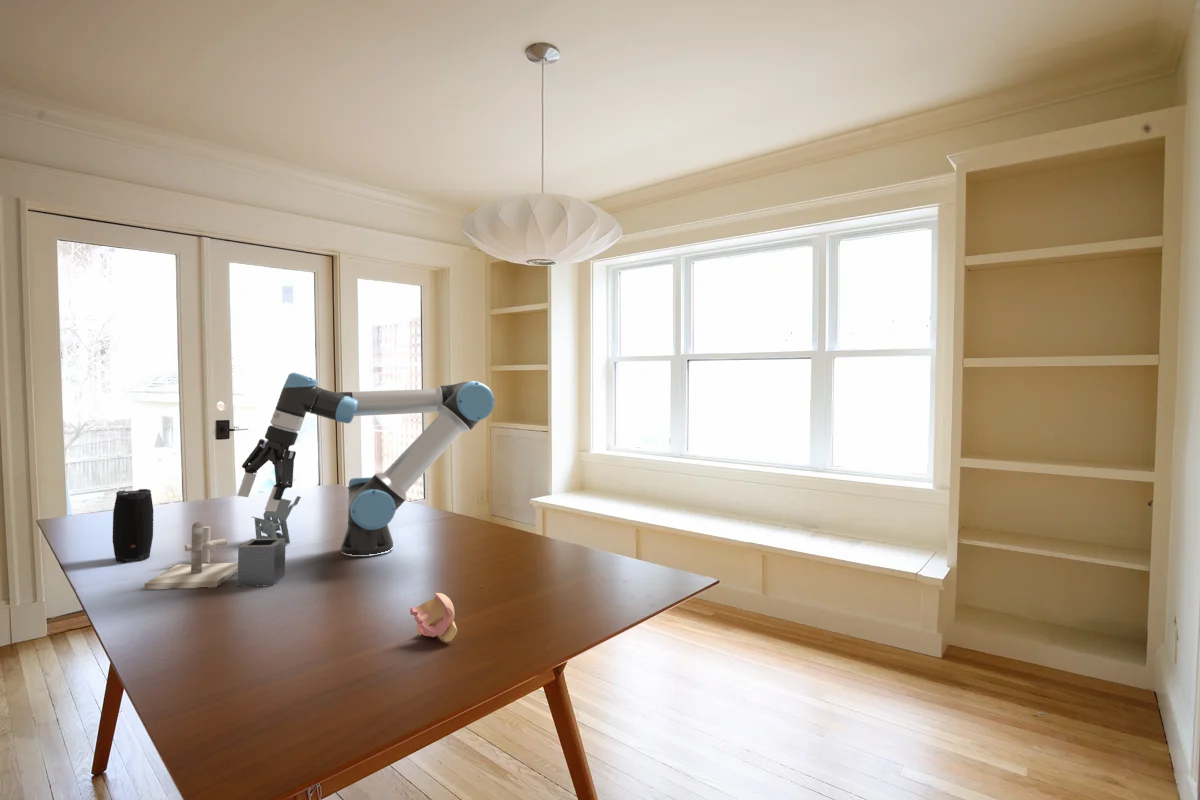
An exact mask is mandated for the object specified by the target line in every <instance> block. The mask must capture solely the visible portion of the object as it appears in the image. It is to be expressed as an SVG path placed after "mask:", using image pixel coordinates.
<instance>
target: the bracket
mask: <svg viewBox="0 0 1200 800" xmlns="http://www.w3.org/2000/svg"><path fill="white" fill-rule="evenodd" d="M301 497H302V496H299V495H297V496H296V497H295V500H294V501H293V503H292V504H291V502H292V500H291V499H285V498H281V500H280V502H279V504H278V507H277V510H276V512H274V511H266V510H264V513H263V518H260V517H255V516H252V518H253V519H254V526H255V527H254V530H255V539H272V538H286V543H285V546H287V545H289V544H291V541H290V535H289V527H288V523H287V520H288V517H289V515H290V513H291V511H292V510H293V508H294V507H295V506H297V505H298V504H299V502H300V500H301V499H302V498H301ZM278 531H281V532H278ZM262 534H265V535H262Z"/></svg>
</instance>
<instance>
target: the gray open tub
mask: <svg viewBox="0 0 1200 800" xmlns="http://www.w3.org/2000/svg"><path fill="white" fill-rule="evenodd" d="M285 543H286V538H272V539H256V538H250V539H249V540H248V541H245V542H244V543H242V544H241V545H240V546H238V547H237V548H238V549H237V563H238V572H237V587H238V586H247V587H264V586H263V585H274V584H275V585H276V584H278V582H279V581H280V580H282V579H283V578H284V577H285V576H284V575H286V545H285ZM283 576H284V577H283ZM257 585H258V586H257ZM275 585H274V586H275Z"/></svg>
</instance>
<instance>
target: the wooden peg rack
mask: <svg viewBox="0 0 1200 800" xmlns="http://www.w3.org/2000/svg"><path fill="white" fill-rule="evenodd" d="M227 544H228V539H227V538H226V537H225V538H220V539H213V540H211V526H203V553H202V564H208V563H210V561H211V551H212V552H213V551H216V550H217V547H219V546H225V545H227ZM191 547H192V543H188V544H184V551H185V552H190V551H191ZM207 562H208V563H207Z"/></svg>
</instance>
